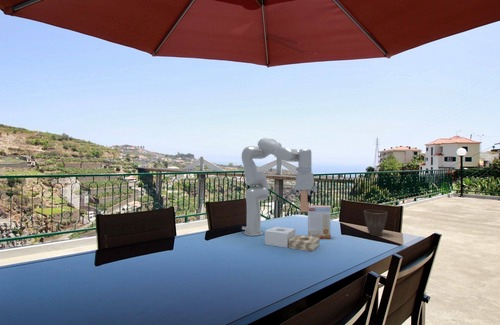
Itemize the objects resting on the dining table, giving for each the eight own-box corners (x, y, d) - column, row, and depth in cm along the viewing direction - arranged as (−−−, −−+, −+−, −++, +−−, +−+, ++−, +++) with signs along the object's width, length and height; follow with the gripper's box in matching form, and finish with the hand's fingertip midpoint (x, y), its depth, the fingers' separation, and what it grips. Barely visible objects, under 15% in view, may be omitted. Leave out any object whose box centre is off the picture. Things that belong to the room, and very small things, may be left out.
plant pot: (388, 234, 201) (388, 210, 201) (385, 238, 189) (385, 213, 189) (366, 231, 209) (366, 209, 209) (361, 235, 197) (361, 211, 197)
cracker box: (329, 236, 192) (329, 205, 192) (330, 239, 186) (330, 206, 186) (307, 236, 194) (307, 204, 194) (308, 238, 188) (308, 206, 188)
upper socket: (265, 244, 173) (265, 230, 173) (274, 239, 185) (274, 226, 185) (287, 247, 166) (287, 233, 166) (295, 242, 179) (295, 229, 179)
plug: (300, 211, 168) (300, 190, 168) (302, 210, 171) (302, 190, 172) (307, 212, 166) (307, 191, 166) (309, 211, 170) (309, 190, 170)
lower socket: (288, 247, 166) (288, 240, 166) (296, 242, 178) (296, 234, 178) (312, 251, 159) (313, 243, 159) (319, 245, 172) (319, 237, 172)
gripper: (289, 170, 170) (289, 201, 169) (317, 170, 162) (317, 203, 162) (293, 170, 176) (293, 200, 176) (320, 170, 168) (320, 201, 168)
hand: (304, 201), depth 169 cm, fingers closed on plug, 4 cm apart
